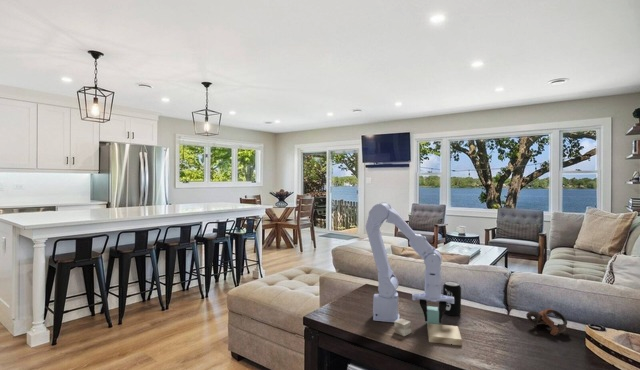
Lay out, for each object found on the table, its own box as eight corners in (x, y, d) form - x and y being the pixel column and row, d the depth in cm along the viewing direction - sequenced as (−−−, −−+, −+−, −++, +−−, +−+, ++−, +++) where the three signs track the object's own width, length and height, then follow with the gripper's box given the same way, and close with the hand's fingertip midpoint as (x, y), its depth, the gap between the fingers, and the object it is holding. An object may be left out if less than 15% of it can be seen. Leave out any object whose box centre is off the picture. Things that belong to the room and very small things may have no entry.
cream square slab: (429, 341, 112) (429, 335, 112) (427, 328, 122) (427, 323, 122) (461, 345, 110) (461, 339, 110) (457, 331, 120) (457, 326, 120)
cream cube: (394, 332, 119) (394, 321, 119) (401, 329, 122) (401, 318, 122) (404, 336, 116) (404, 325, 116) (410, 333, 119) (410, 321, 119)
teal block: (427, 326, 124) (427, 310, 124) (426, 322, 128) (426, 306, 128) (438, 327, 123) (439, 311, 123) (438, 323, 127) (438, 307, 127)
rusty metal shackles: (554, 325, 126) (565, 310, 122) (562, 347, 118) (574, 332, 114) (519, 314, 128) (529, 299, 124) (525, 335, 120) (535, 320, 116)
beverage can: (462, 317, 132) (462, 286, 132) (444, 315, 133) (444, 285, 133) (459, 310, 139) (459, 281, 138) (441, 309, 140) (442, 280, 140)
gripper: (412, 285, 123) (412, 323, 123) (455, 289, 119) (455, 327, 120) (412, 280, 130) (412, 315, 130) (453, 282, 126) (452, 319, 127)
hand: (432, 320), depth 125 cm, fingers open, 4 cm apart
